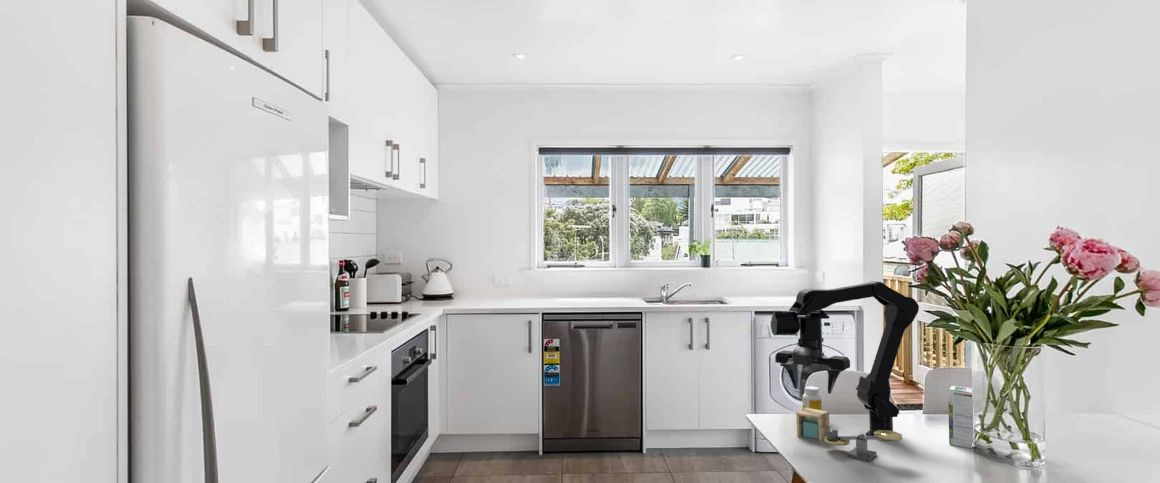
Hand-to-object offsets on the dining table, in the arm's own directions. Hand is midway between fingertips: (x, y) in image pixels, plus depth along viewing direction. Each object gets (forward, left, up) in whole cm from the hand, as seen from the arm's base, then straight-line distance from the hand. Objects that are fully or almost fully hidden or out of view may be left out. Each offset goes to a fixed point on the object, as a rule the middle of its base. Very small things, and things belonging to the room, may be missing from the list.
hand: (812, 391), depth 154 cm
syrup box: (-18, +32, -13) cm, 39 cm away
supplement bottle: (-15, -6, -13) cm, 21 cm away
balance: (+8, +15, -12) cm, 21 cm away
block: (0, 0, -12) cm, 13 cm away
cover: (0, 0, -12) cm, 12 cm away
